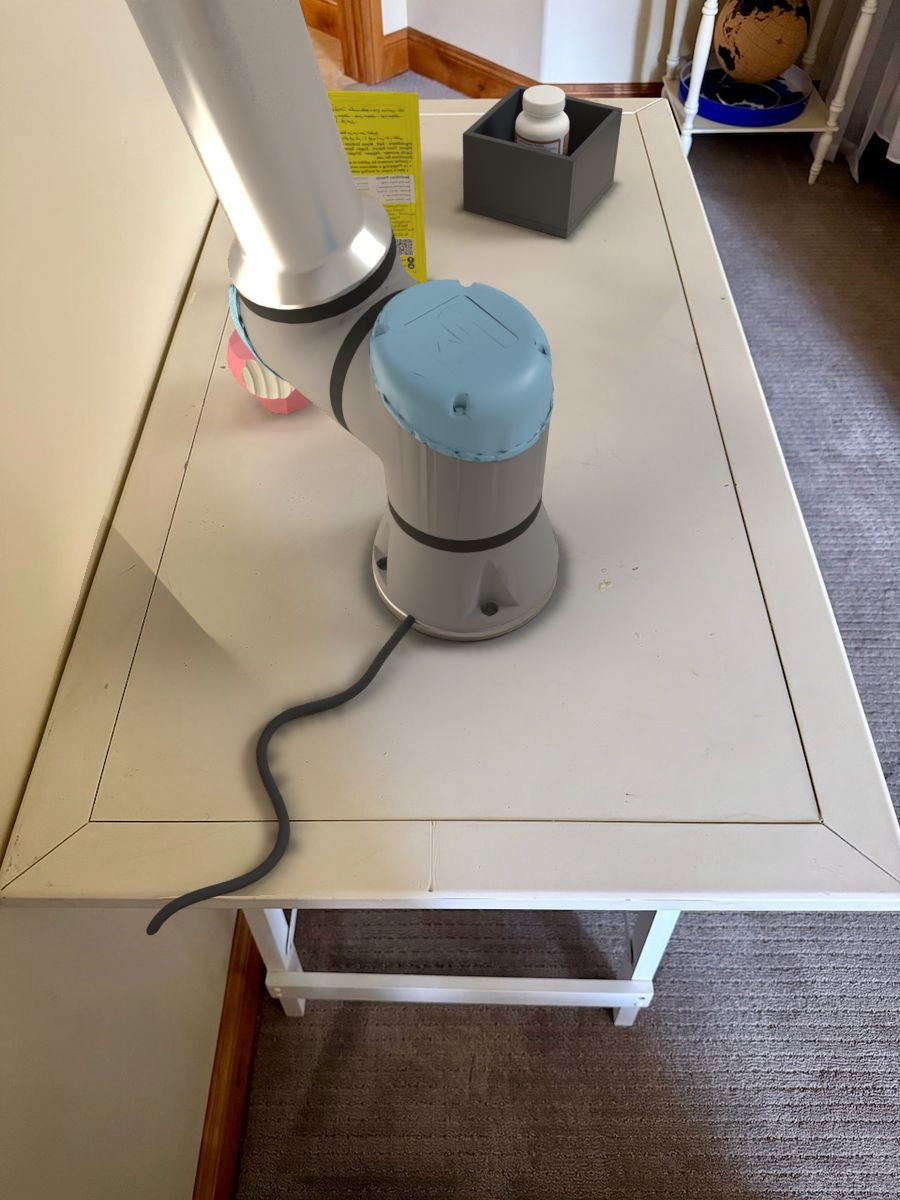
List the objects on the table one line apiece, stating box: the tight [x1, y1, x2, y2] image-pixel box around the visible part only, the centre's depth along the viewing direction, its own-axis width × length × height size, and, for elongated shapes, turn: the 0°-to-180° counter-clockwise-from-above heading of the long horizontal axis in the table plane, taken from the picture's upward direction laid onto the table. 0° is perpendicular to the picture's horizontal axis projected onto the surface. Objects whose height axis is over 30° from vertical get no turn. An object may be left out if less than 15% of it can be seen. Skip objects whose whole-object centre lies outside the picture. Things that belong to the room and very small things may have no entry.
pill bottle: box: [515, 84, 569, 156], centre depth 104 cm, size 6×6×11 cm
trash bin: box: [462, 84, 624, 239], centre depth 106 cm, size 14×14×9 cm
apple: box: [226, 327, 311, 415], centre depth 83 cm, size 10×9×10 cm
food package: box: [326, 89, 428, 283], centre depth 91 cm, size 15×1×20 cm, turn 84°
